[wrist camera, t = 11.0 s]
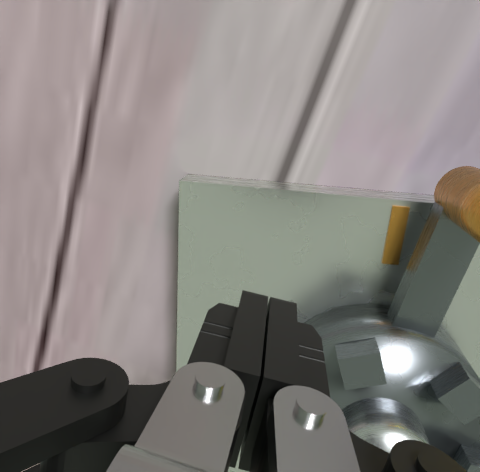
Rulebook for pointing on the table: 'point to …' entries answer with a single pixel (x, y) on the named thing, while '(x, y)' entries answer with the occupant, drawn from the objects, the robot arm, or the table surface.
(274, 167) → the table surface
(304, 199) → the base plate
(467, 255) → the chuck with crank handle
